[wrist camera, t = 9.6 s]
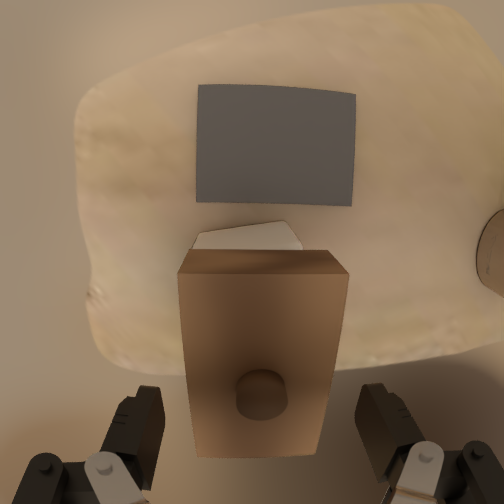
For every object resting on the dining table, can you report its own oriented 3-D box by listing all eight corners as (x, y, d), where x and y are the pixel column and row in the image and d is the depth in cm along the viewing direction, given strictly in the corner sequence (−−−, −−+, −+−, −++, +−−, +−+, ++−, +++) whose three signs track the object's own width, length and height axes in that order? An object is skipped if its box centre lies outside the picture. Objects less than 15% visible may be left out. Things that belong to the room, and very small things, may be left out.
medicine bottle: (197, 232, 26) (167, 293, 14) (286, 219, 26) (324, 270, 14) (212, 311, 28) (200, 407, 16) (294, 300, 28) (328, 390, 16)
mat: (351, 96, 23) (355, 94, 22) (347, 204, 26) (351, 206, 25) (200, 87, 23) (198, 84, 22) (197, 200, 25) (196, 202, 24)
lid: (327, 250, 14) (358, 284, 10) (305, 416, 17) (318, 468, 13) (189, 248, 14) (172, 284, 10) (201, 418, 17) (195, 471, 13)
